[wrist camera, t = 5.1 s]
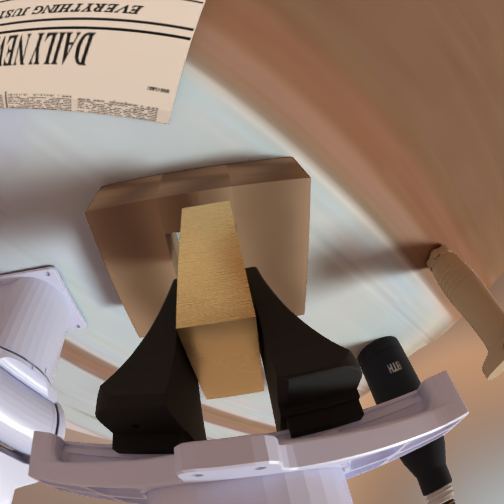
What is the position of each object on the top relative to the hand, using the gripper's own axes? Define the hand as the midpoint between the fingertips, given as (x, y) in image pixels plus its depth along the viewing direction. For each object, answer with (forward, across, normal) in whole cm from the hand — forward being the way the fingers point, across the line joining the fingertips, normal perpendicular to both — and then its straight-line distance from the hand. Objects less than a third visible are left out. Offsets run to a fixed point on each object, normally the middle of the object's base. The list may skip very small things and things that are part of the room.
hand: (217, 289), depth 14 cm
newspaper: (+11, +10, -16) cm, 22 cm away
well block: (+10, +1, +4) cm, 10 cm away
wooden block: (+4, 0, 0) cm, 4 cm away
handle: (+10, -23, +10) cm, 27 cm away
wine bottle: (+10, -19, +26) cm, 34 cm away
